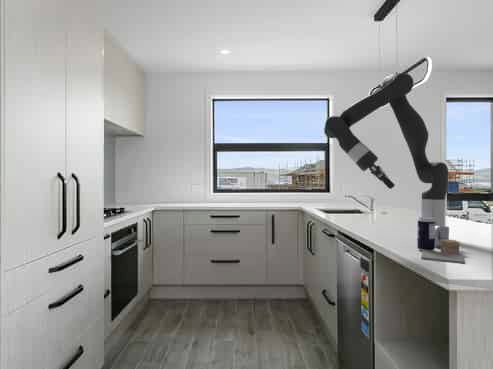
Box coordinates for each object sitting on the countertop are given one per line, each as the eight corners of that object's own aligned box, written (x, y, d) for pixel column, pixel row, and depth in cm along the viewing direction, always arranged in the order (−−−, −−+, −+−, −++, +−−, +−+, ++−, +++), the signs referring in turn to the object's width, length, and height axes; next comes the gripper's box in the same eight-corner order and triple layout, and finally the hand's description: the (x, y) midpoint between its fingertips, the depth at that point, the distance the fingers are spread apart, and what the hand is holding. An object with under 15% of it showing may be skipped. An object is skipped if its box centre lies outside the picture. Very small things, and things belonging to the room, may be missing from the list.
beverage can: (429, 248, 132) (429, 216, 132) (437, 252, 127) (438, 218, 126) (414, 248, 132) (414, 216, 132) (422, 252, 127) (422, 218, 126)
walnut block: (440, 251, 128) (440, 239, 128) (454, 252, 127) (454, 240, 127) (444, 254, 123) (444, 241, 123) (458, 255, 122) (459, 242, 122)
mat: (422, 252, 126) (422, 250, 126) (461, 256, 121) (461, 254, 121) (421, 259, 116) (421, 257, 116) (464, 263, 110) (464, 261, 110)
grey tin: (433, 245, 138) (434, 225, 138) (448, 247, 136) (448, 226, 136) (433, 248, 134) (434, 227, 134) (448, 249, 132) (449, 228, 132)
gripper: (368, 148, 131) (400, 180, 126) (371, 151, 144) (400, 180, 139) (352, 162, 133) (384, 194, 128) (357, 164, 146) (385, 193, 141)
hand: (392, 187), depth 134 cm, fingers open, 8 cm apart
